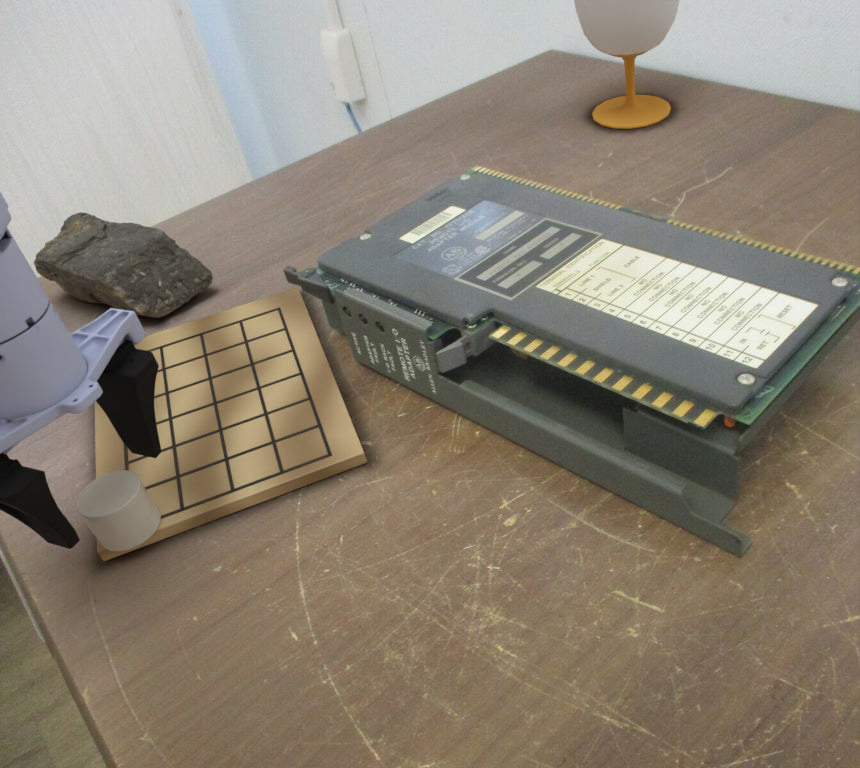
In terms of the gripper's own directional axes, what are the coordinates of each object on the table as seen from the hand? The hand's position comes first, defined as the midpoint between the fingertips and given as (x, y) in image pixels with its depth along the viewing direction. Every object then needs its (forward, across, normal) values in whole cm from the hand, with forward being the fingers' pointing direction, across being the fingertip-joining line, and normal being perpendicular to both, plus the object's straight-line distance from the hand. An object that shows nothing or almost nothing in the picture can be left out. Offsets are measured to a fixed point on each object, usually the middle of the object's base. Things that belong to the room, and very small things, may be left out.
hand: (107, 494), depth 53 cm
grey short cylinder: (+3, 0, 0) cm, 3 cm away
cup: (+4, +68, -15) cm, 70 cm away
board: (+4, +13, +3) cm, 14 cm away
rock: (+4, +24, +21) cm, 32 cm away
